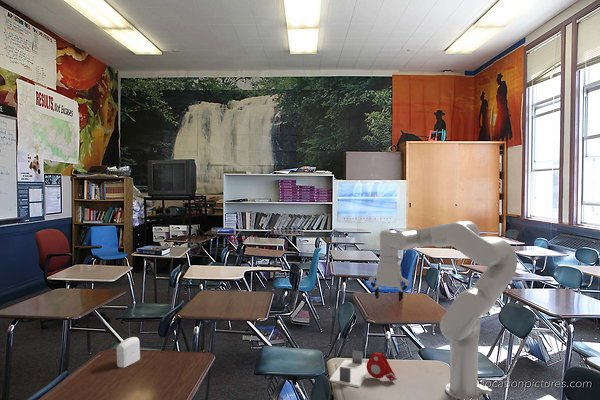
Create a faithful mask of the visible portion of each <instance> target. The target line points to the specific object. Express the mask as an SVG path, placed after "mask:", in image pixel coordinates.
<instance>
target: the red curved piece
mask: <svg viewBox="0 0 600 400" xmlns="http://www.w3.org/2000/svg"><path fill="white" fill-rule="evenodd" d="M366 363H367V366H366V367H367V371H368V375H370V376H371V377H372V378H374V379H382V378H384V377H386V378H387V379H388V380H389V381H390V382H395V381H396V380H398V379H397V377H396V375H395V372H394V371H393V369H392V368H391V365H390V363H389V362H388V359H387V358H386V355H385V354H384V353H381V352H373V353H372V355H371V356H370V357H369V358H368V360H367V362H366Z"/></svg>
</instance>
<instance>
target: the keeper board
mask: <svg viewBox="0 0 600 400" xmlns="http://www.w3.org/2000/svg"><path fill="white" fill-rule="evenodd" d="M351 353H352V354H351V355H352V359H346V358H344V360H342V362H341V364H340V365H339V366H338V368H337V369H336V370H335V372H334V373H333V374H332V375H331V377H330V378H329V382H332V383H337V384H340V385H345V386H350V387H355V388H358V389H359V388H361V386H362V385H363V384H364V381H365V379H366V378H367V376H368V375H369V373H368V371H367V367H366V366H367V362H363V351H359V350H354V349H353V350H352V351H351Z"/></svg>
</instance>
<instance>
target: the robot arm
mask: <svg viewBox="0 0 600 400" xmlns="http://www.w3.org/2000/svg"><path fill="white" fill-rule="evenodd" d="M424 247H435V248H445V247H453V248H455V249H456V251H459V252H460V253H461V254H462V255H464V256H465V257H467V258H468V259H470V260H471V261H472V262H474V263H475V264H477V265H478V266H481V267H484V268H485V267H486V269H485V270H484V271H483V272H482V273H481V275H480V277H479V278H478V280H477V281H476V282H475V284H473V286H471V287H469V288H468V289H466V290H464V291H462V292H460V293H459V294H458V295H457V296H456V297H455V298H454V299H453V301H452V302H451V304H450V306H449V307H448V309H447V310H446V311H445V312H444V314H443V316H442V317H441V319H440V322H439V329H440V333H441V334H442V336H443V337H444V338H445V339H447V340H448V341H450V342H449V343H450V345H449V383H447V384H446V385H445V386H444V387H445V393H446V394H447V395H448V396H449V397H451V398H452V399H455V400H457V399H460V400H464V399H465V400H470V399H471V398H472V399H471V400H477V399H478V400H481V399H482V398H483V394H484V395H487V396H488V395H489V396H492V389H491V388H488V386H486V385H481V384H480V383H479V377H478V376H479V371H478V370H479V340H480V339H479V338H480V332H481V319H480V318H481V317H482V316H484V315H486V314H487V313H488V312H490V311H491V310H492V308H493V307H494V305H495V304H496V302H497V301H498V300H499V298H500V297H501V296H502V295H503V293H504V291H505V290H506V288H507V287H508V285H509V284H510V283H511V281H512V280H513V278H514V276H515V274H516V270H517V268H518V259H517V254H516V251H515V250H514V248H513V246H512V245H511V244H510V243H509V242H507V241H506V240H503V239H500V238H494V239H488V240H486V239H485V238H484V237H481V235H480V229H479V226H478V225H477V224H476V223H475V222H472V221H469V220H462V221H457V222H450V223H449V222H447V223H444V224H443V223H442V224H436V225H435V224H434V225H432V226H431V227H426V228H420V229H409V230H405V231H396V230H393V229H386V230H385V229H384V230H381V231H380V234H379V261H378V263H377V269H376V274H375V275H373V276H370V277H368V282H369V283H370V285H371V286H372V288H373V290H374V297H375V299H376V300H377V299H379V298H380V288H379V287H380V286H381V287H389V288H390V287H392V288H397V289H398V302H402V300H403V299H404V291H405V290H406V289H407V288H408V286H409V284H410V282H411V281H410V280H408V279H406V278H405V277H403V276H402V267H401V263H400V262H401V261H402V257H400V256H399V251H406V250H411V249H416V248H424ZM375 279H376V280H375ZM374 280H375V281H376V282H374ZM402 282H403V283H405V284H404V285H402Z"/></svg>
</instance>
